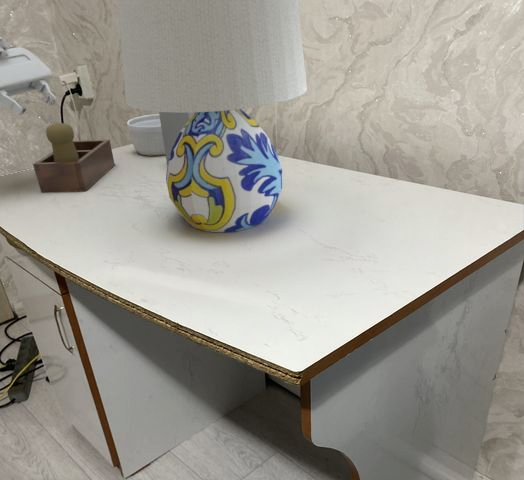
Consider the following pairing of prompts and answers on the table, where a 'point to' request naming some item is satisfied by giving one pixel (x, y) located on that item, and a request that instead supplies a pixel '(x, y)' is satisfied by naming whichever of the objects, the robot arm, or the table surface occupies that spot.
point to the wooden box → (75, 168)
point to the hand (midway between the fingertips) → (38, 107)
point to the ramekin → (147, 135)
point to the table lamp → (215, 97)
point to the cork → (62, 142)
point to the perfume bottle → (172, 128)
